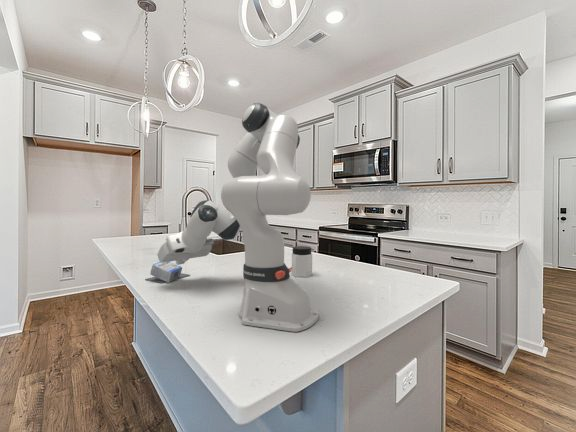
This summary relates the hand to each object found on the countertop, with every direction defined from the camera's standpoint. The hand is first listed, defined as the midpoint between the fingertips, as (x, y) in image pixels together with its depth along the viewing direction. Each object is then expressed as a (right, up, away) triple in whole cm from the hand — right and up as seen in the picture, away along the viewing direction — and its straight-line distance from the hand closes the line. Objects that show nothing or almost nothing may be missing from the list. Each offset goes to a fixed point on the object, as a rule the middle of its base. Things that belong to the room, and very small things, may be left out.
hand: (179, 263), depth 118 cm
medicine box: (-1, -5, 0) cm, 5 cm away
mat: (-6, -7, +4) cm, 10 cm away
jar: (+49, -7, +11) cm, 51 cm away
